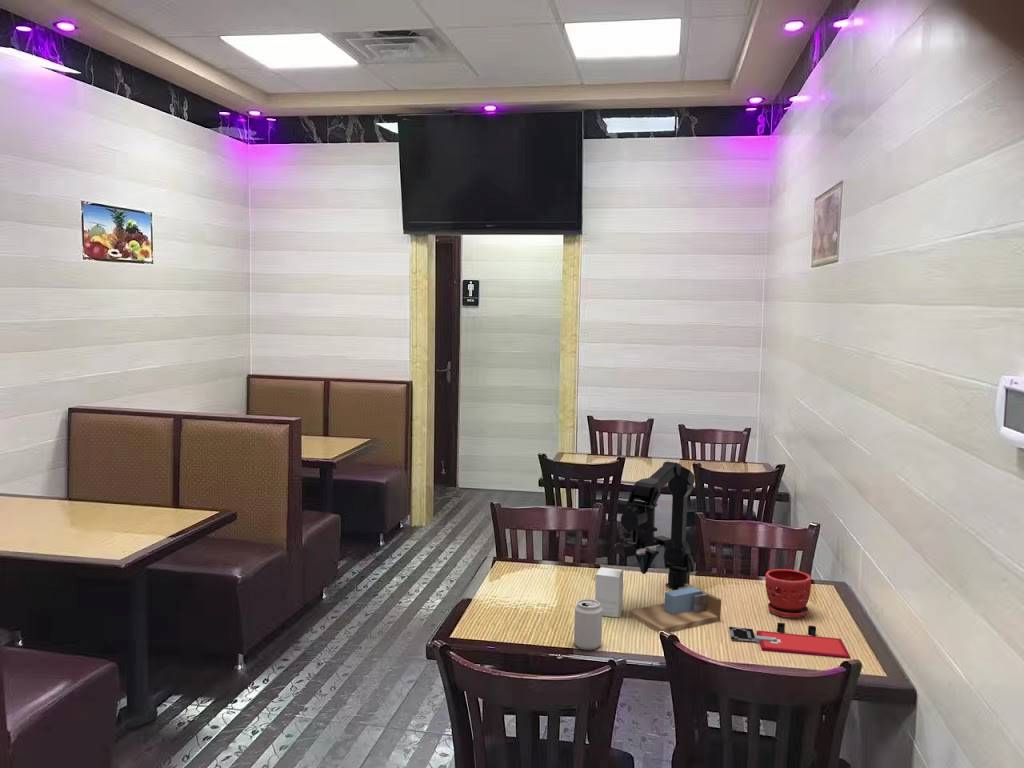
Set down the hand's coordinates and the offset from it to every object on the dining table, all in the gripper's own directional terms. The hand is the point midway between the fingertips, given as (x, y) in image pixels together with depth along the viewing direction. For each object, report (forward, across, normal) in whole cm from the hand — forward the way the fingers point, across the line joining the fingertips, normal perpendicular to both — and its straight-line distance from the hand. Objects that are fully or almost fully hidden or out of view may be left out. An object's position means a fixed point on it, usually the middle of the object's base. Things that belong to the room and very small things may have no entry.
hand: (643, 573), depth 235 cm
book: (+10, -9, +8) cm, 16 cm away
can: (+12, +29, +13) cm, 34 cm away
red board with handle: (+12, -22, +36) cm, 44 cm away
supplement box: (+12, +10, -4) cm, 16 cm away
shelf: (+12, -5, +9) cm, 16 cm away
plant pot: (+12, -39, +21) cm, 46 cm away
